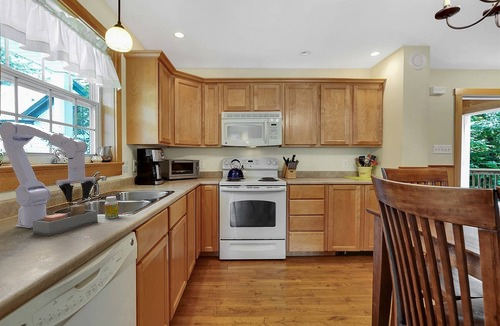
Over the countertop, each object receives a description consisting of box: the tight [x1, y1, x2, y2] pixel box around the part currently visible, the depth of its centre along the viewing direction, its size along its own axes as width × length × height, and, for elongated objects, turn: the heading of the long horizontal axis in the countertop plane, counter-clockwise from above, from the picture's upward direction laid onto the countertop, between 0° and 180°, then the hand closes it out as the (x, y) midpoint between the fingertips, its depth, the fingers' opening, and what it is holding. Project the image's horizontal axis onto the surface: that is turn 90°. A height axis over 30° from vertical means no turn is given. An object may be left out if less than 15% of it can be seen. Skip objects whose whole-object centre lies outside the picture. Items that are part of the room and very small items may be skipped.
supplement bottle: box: [104, 195, 119, 220], centre depth 105 cm, size 5×5×10 cm
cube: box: [44, 213, 67, 222], centre depth 87 cm, size 5×5×5 cm
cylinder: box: [70, 204, 86, 217], centre depth 95 cm, size 5×5×7 cm
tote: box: [32, 209, 99, 237], centre depth 91 cm, size 9×18×5 cm, turn 161°
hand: (77, 200), depth 95 cm, fingers open, 6 cm apart
